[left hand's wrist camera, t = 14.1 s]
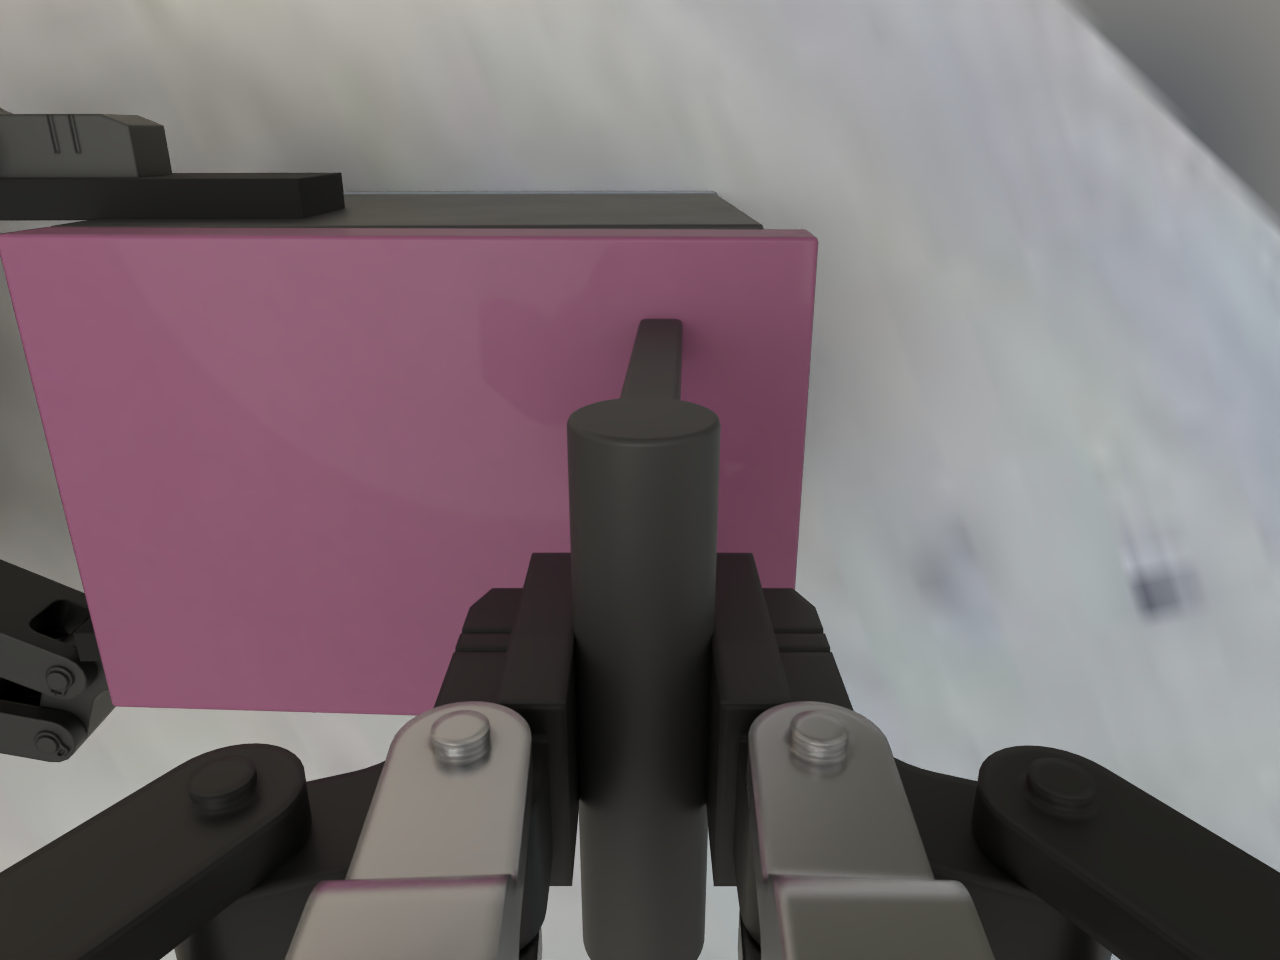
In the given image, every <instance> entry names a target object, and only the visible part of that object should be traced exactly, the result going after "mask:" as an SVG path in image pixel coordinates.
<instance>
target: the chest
mask: <svg viewBox="0 0 1280 960" xmlns="http://www.w3.org/2000/svg"><path fill="white" fill-rule="evenodd" d="M343 193H344V202H345V208H342V209H339V210H335V211H331V212H327V213H323V214H319V215H315V216H311V217H307V218H235V219H93V220H87V221H81V222H74V223H68V224H62V225H55V226H51V227H159V228H454V229H750V230H763V226H762V225H761V224H760V223H758V222H757V221H755V220H754V219H752V218H751V217H749V216H748V215H746V214H745V213H743V212H742V211H740V210H738V209H737V208H735V207H734V206H732V205H731V204H729V203H728V202H726V201H725V200H723V199H722V198H720V197H719V196H717V193H716V192H714V191H535V192H343Z"/></svg>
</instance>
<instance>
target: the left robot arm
mask: <svg viewBox="0 0 1280 960" xmlns="http://www.w3.org/2000/svg"><path fill="white" fill-rule="evenodd" d="M579 801H580V791H579V758H578V724H577V691H576V658H575V633H574V629H573V608H572V577H571V553H532V555H531V559H530V563H529V567H528V570H527V574H526V578H525V582H524V586H523V588H492V589H491V590H489V591H488V592H487V593H486V594H485V595H484V596H482V597H481V598H480V599H479V600H478V601H476V602H475V603H474V604H473V605H472V606H471V607H470V608H469V611H468V614H467V616H466V619H465V622H464V625H463V627H462V634H460V636H459V639H458V641H457V644H456V647H455V652H453V655H452V658H451V661H450V663H449V666H448V669H447V672H446V675H445V677H444V680H443V683H442V686H441V688H440V691H439V694H438V697H437V699H436V702H435V705H434V708H433V709H430V710H428V711H425V712H424V713H422V714H420V715H418V716H416V717H414V718H413V719H412V720H410V721H409V722H407V723H406V724H405V725H404V726H403V727H402V728H401V729H400V730H399V731H398V733H397V734H396V735H395V737H394V739H393V741H392V743H391V745H390V748H389V751H388V754H387V757H386V760H385V761H384V762H382V763H379V764H377V765H374V766H371V767H368V768H365V769H362V770H358V771H354V772H350V773H345V774H341V775H336V776H331V777H327V778H322V779H317V780H313V781H308V782H306V778H305V772H304V767H303V765H302V763H301V761H300V759H299V758H298V757H297V756H296V755H295V754H293V753H292V752H290V751H289V750H287V749H284V748H281V747H279V746H274V745H269V744H257V743H256V744H240V745H233V746H228V747H224V748H220V749H216V750H213V751H210V752H207V753H204V754H202V755H199V756H197V757H194V758H192V759H190V760H188V761H186V762H185V763H183V764H181V765H179V766H177V767H176V768H174V769H172V770H171V771H169V772H167V773H166V774H164V775H162V776H161V777H159V778H157V779H156V780H154V781H152V782H151V783H149V784H147V785H146V786H144V787H142V788H141V789H139V790H137V791H136V792H134V793H132V794H131V795H129V796H127V797H126V798H124V799H122V800H121V801H119V802H117V803H116V804H114V805H112V806H111V807H109V808H107V809H106V810H104V811H102V812H101V813H99V814H97V815H96V816H94V817H92V818H91V819H89V820H87V821H86V822H84V823H82V824H81V825H79V826H77V827H76V828H74V829H72V830H71V831H69V832H67V833H66V834H64V835H62V836H61V837H59V838H57V839H56V840H54V841H52V842H51V843H49V844H47V845H46V846H44V847H42V848H41V849H39V850H37V851H36V852H34V853H32V854H31V855H29V856H27V857H26V858H24V859H22V860H21V861H19V862H17V863H16V864H14V865H12V866H11V867H9V868H7V869H6V870H4V871H2V872H1V873H0V960H160V959H161V958H162V957H164V956H165V955H166V954H168V953H169V952H170V951H171V950H173V949H175V953H176V957H177V960H541V959H542V933H541V926H542V924H543V921H544V919H545V914H546V909H547V901H548V893H549V886H572V879H573V868H574V857H575V846H576V834H577V823H578V812H579ZM706 810H707V820H708V830H709V840H710V851H711V861H712V871H713V881H714V886H737V891H738V898H739V906H740V914H739V933H738V959H739V960H1110V959H1111V955H1112V954H1114V955H1115V956H1116V957H1118V958H1119V959H1120V960H1280V873H1279V872H1278V871H1276V870H1274V869H1273V868H1271V867H1269V866H1268V865H1266V864H1264V863H1263V862H1261V861H1259V860H1258V859H1256V858H1254V857H1253V856H1251V855H1249V854H1248V853H1246V852H1244V851H1243V850H1241V849H1239V848H1238V847H1236V846H1234V845H1233V844H1231V843H1229V842H1228V841H1226V840H1224V839H1223V838H1221V837H1219V836H1218V835H1216V834H1214V833H1213V832H1211V831H1209V830H1208V829H1206V828H1204V827H1203V826H1201V825H1199V824H1198V823H1196V822H1194V821H1193V820H1191V819H1189V818H1188V817H1186V816H1184V815H1183V814H1181V813H1179V812H1178V811H1176V810H1174V809H1173V808H1171V807H1169V806H1168V805H1166V804H1164V803H1163V802H1161V801H1159V800H1158V799H1156V798H1154V797H1153V796H1151V795H1149V794H1148V793H1146V792H1144V791H1143V790H1141V789H1139V788H1138V787H1136V786H1134V785H1133V784H1131V783H1129V782H1128V781H1126V780H1124V779H1123V778H1121V777H1119V776H1118V775H1116V774H1114V773H1113V772H1111V771H1109V770H1108V769H1106V768H1104V767H1102V766H1101V765H1099V764H1097V763H1095V762H1093V761H1091V760H1089V759H1086V758H1084V757H1082V756H1079V755H1076V754H1073V753H1070V752H1067V751H1063V750H1059V749H1055V748H1049V747H1042V746H1015V747H1010V748H1005V749H1002V750H1000V751H997V752H995V753H993V754H992V755H990V756H989V757H988V758H987V759H986V760H985V761H984V762H983V763H982V765H981V767H980V770H979V776H978V781H973V780H969V779H964V778H959V777H955V776H950V775H945V774H941V773H936V772H932V771H928V770H924V769H921V768H918V767H915V766H912V765H909V764H907V763H905V762H903V761H900V760H898V759H896V758H894V757H893V754H892V751H891V748H890V745H889V743H888V741H887V739H886V737H885V735H884V734H883V733H882V731H881V730H880V729H879V728H878V727H877V726H876V725H875V724H874V723H873V722H871V721H870V720H868V719H867V718H866V717H864V716H862V715H860V714H858V713H856V712H855V711H853V708H852V705H851V703H850V700H849V697H848V694H847V692H846V689H845V686H844V684H843V681H842V678H841V676H840V673H839V670H838V668H837V665H836V662H835V660H834V657H833V654H832V652H830V646H829V643H828V641H827V638H826V635H825V634H823V627H822V625H821V622H820V619H819V616H818V614H817V611H816V608H815V607H814V606H813V605H812V604H811V603H809V602H808V601H807V600H806V599H805V598H803V597H802V596H801V595H800V594H799V593H798V592H796V591H795V590H794V589H793V588H762V586H761V582H760V578H759V575H758V571H757V567H756V564H755V560H754V556H753V554H752V553H717V557H716V588H715V620H714V631H713V634H712V636H711V660H710V691H709V722H708V754H707V785H706Z"/></svg>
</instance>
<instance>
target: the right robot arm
mask: <svg viewBox="0 0 1280 960" xmlns="http://www.w3.org/2000/svg"><path fill="white" fill-rule="evenodd" d="M342 208H345V202H344V193H343V184H342V176H341V173H172V170H171V165H170V159H169V153H168V148H167V142H166V137H165V131H164V126H163V125H160V124H158V123H155V122H153V121H150V120H148V119H145V118H142V117H140V116H137V115H110V114H12V113H9V112H7V111H4V110H3V109H1V108H0V220H93V219H235V218H307V217H311V216H315V215H319V214H323V213H327V212H331V211H335V210H339V209H342ZM115 707H116V706H114V705H113V704H112V701H111V696H110V692H109V688H108V684H107V680H106V676H105V672H104V668H103V664H102V660H101V656H100V652H99V648H98V644H97V640H96V636H95V632H94V628H93V624H92V620H91V616H90V612H89V608H88V604H87V600H86V596H85V593H82V592H80V591H77V590H75V589H72V588H70V587H67V586H65V585H63V584H60V583H58V582H55V581H53V580H50V579H48V578H45V577H43V576H40V575H38V574H35V573H33V572H30V571H28V570H25V569H23V568H20V567H18V566H15V565H13V564H10V563H8V562H5V561H3V560H0V753H3V754H8V755H14V756H20V757H25V758H31V759H37V760H42V761H48V762H61V761H64V760H67V759H69V758H70V757H71V756H72V755H73V754H74V753H75V752H76V750H77V749H78V748H79V747H80V746H81V745H82V744H83V743H84V741H85V740H86V739H87V738H88V737H89V736H90V735H91V734H92V733H93V731H94V730H95V729H96V728H97V727H98V726H99V725H100V724H101V722H102V721H103V720H104V719H105V718H106V717H107V716H108V715H109V714H110V712H111V711H112V710H113V709H114V708H115Z"/></svg>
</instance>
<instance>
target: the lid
mask: <svg viewBox="0 0 1280 960" xmlns="http://www.w3.org/2000/svg"><path fill="white" fill-rule="evenodd" d="M817 253H818V240H817V238H816V237H815V236H813V235H812V234H811V233H810V232H808V231H806V230H750V229H454V228H159V227H45V228H38V229H31V230H24V231H17V232H10V233H3V234H0V256H1V260H2V264H3V268H4V272H5V276H6V280H7V284H8V288H9V292H10V296H11V300H12V304H13V308H14V312H15V316H16V320H17V324H18V328H19V332H20V336H21V340H22V344H23V348H24V352H25V356H26V360H27V364H28V368H29V372H30V376H31V380H32V384H33V388H34V392H35V396H36V400H37V404H38V408H39V412H40V416H41V420H42V424H43V428H44V432H45V436H46V440H47V444H48V448H49V452H50V456H51V460H52V464H53V468H54V472H55V476H56V480H57V484H58V488H59V492H60V496H61V500H62V504H63V508H64V512H65V516H66V520H67V524H68V528H69V532H70V536H71V540H72V544H73V548H74V552H75V556H76V560H77V564H78V568H79V572H80V576H81V580H82V584H83V588H84V592H85V596H86V600H87V604H88V608H89V612H90V616H91V620H92V624H93V628H94V632H95V636H96V640H97V644H98V648H99V652H100V656H101V660H102V664H103V668H104V672H105V676H106V680H107V684H108V688H109V692H110V696H111V701H112V704H113V705H114V706H119V707H153V708H187V709H220V710H254V711H287V712H321V713H355V714H388V715H420V714H422V713H424V712H425V711H428V710H430V709H433V708H434V705H435V702H436V699H437V697H438V694H439V691H440V688H441V686H442V683H443V680H444V677H445V675H446V672H447V669H448V666H449V663H450V661H451V658H452V655H453V652H455V647H456V644H457V641H458V639H459V636H460V634H462V627H463V625H464V622H465V619H466V616H467V614H468V611H469V608H470V607H471V606H472V605H473V604H474V603H475V602H476V601H478V600H479V599H480V598H481V597H482V596H484V595H485V594H486V593H487V592H488V591H489V590H491V589H492V588H523V586H524V582H525V578H526V574H527V570H528V567H529V563H530V559H531V555H532V553H571V577H572V608H573V629H574V633H575V658H576V691H577V724H578V758H579V791H580V801H579V826H580V857H581V889H582V920H583V941H584V946H585V949H586V952H587V954H588V956H589V957H590V959H591V960H697V958H698V957H699V955H700V953H701V950H702V948H703V944H704V933H705V902H706V871H707V839H708V820H707V810H706V785H707V754H708V722H709V691H710V660H711V636H712V634H713V631H714V620H715V588H716V557H717V553H752V554H753V556H754V560H755V564H756V567H757V571H758V575H759V578H760V582H761V586H762V588H793V589H794V590H795V580H796V565H797V551H798V536H799V521H800V506H801V491H802V476H803V461H804V446H805V432H806V417H807V402H808V387H809V372H810V357H811V342H812V327H813V313H814V298H815V283H816V268H817Z"/></svg>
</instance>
